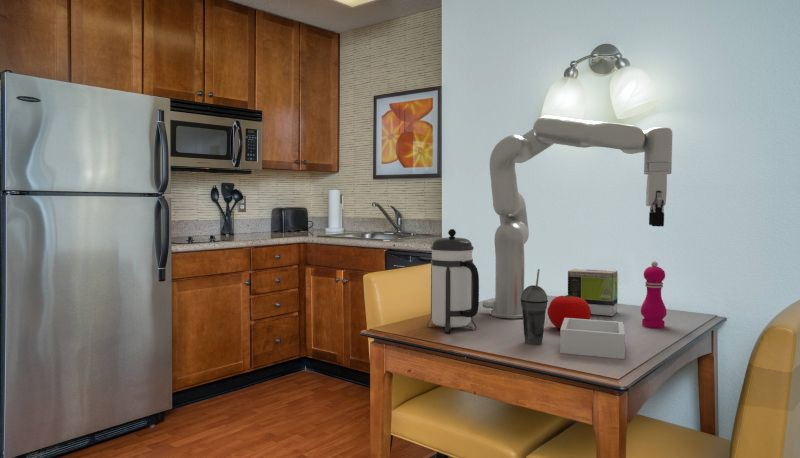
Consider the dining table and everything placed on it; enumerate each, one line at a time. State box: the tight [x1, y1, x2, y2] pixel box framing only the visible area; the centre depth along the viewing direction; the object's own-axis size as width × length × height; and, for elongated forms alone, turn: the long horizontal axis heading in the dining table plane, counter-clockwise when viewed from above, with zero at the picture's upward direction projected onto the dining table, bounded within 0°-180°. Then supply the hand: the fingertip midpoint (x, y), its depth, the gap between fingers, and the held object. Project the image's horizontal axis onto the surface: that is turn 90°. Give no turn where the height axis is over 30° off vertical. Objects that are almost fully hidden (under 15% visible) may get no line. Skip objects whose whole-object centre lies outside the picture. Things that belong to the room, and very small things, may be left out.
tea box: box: [567, 268, 619, 317], centre depth 188 cm, size 15×10×15 cm
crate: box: [559, 318, 626, 360], centre depth 140 cm, size 15×15×6 cm
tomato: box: [547, 293, 592, 329], centre depth 162 cm, size 11×12×10 cm
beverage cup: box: [520, 268, 549, 346], centre depth 146 cm, size 7×7×20 cm
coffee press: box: [426, 228, 480, 334], centre depth 161 cm, size 17×16×30 cm
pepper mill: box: [640, 261, 668, 329], centre depth 166 cm, size 7×7×20 cm
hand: (656, 225), depth 164 cm, fingers open, 9 cm apart
